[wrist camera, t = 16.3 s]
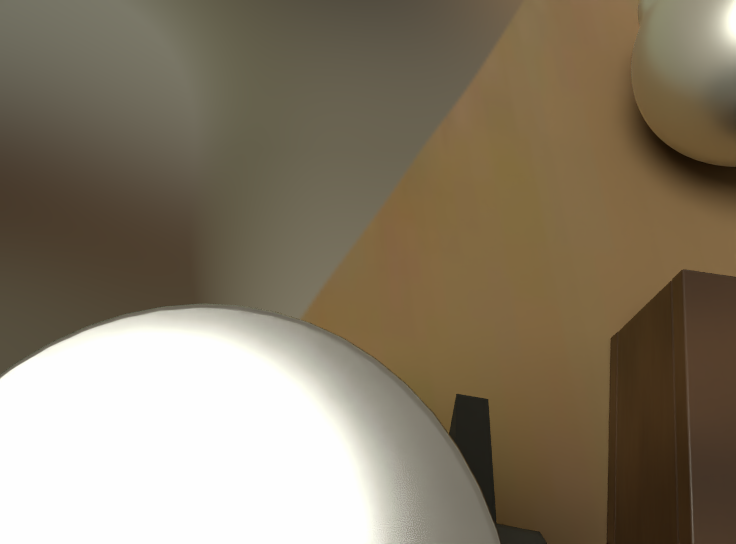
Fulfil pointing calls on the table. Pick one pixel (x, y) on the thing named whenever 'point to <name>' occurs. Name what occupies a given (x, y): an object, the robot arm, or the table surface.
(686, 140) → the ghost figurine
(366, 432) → the dark teal cylinder
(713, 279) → the cabinet
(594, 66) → the table surface
